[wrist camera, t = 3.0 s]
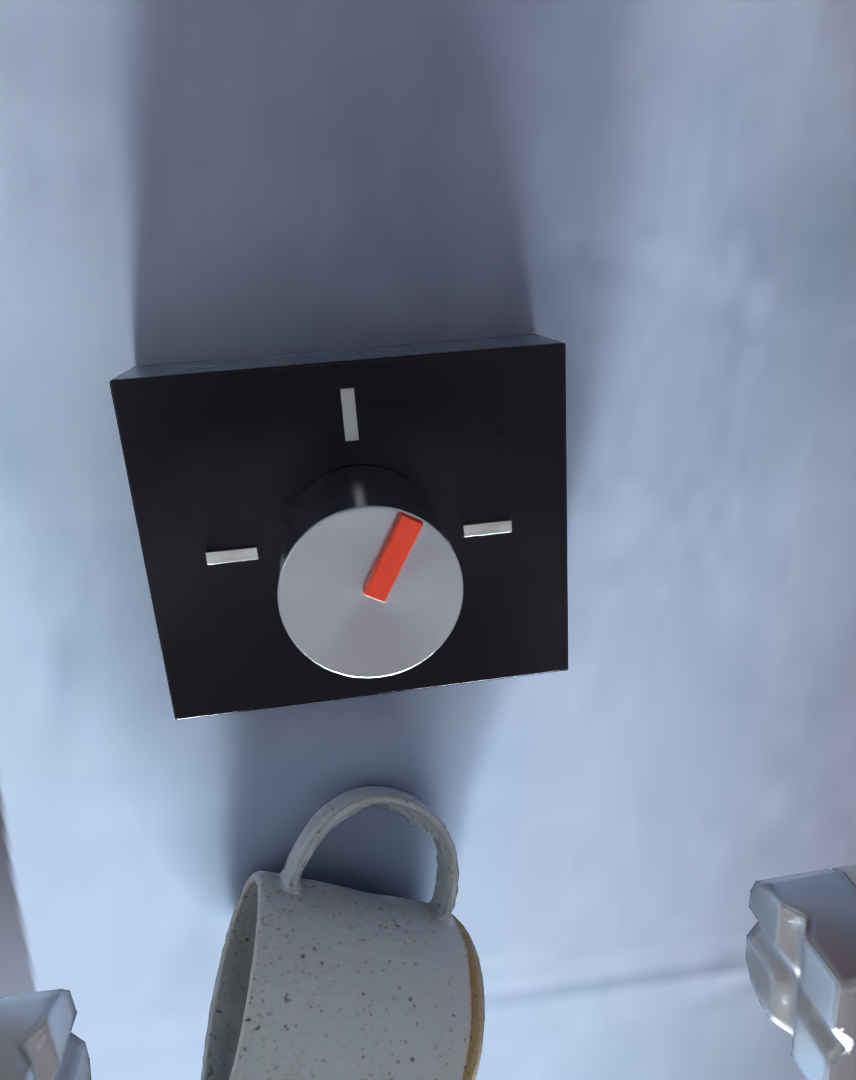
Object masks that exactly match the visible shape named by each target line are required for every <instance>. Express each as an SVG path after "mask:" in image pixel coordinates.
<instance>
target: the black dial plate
mask: <svg viewBox="0 0 856 1080" xmlns="http://www.w3.org/2000/svg"><path fill="white" fill-rule="evenodd" d="M110 388H111V394H112V399H113V404H114V409H115V414H116V419H117V424H118V429H119V435H120V440H121V445H122V450H123V455H124V460H125V465H126V470H127V475H128V481H129V486H130V491H131V496H132V501H133V506H134V511H135V516H136V522H137V527H138V532H139V537H140V542H141V547H142V552H143V557H144V563H145V568H146V573H147V578H148V583H149V588H150V593H151V598H152V603H153V609H154V614H155V619H156V624H157V629H158V634H159V639H160V644H161V650H162V655H163V660H164V665H165V670H166V675H167V680H168V685H169V691H170V696H171V701H172V706H173V711H174V716H175V719H176V720H181V719H189V718H196V717H204V716H212V715H220V714H228V713H236V712H243V711H251V710H259V709H267V708H275V707H283V706H291V705H298V704H306V703H314V702H322V701H330V700H338V699H345V698H353V697H361V696H369V695H377V694H385V693H392V692H400V691H408V690H416V689H424V688H432V687H439V686H447V685H455V684H463V683H471V682H479V681H487V680H494V679H502V678H510V677H518V676H526V675H534V674H541V673H549V672H557V671H565V670H568V588H567V466H566V345H565V343H562V342H559V341H556V340H553V339H550V338H546V337H543V336H540V335H537V334H529V335H517V336H504V337H492V338H480V339H467V340H455V341H443V342H430V343H418V344H405V345H393V346H381V347H368V348H356V349H344V350H331V351H319V352H307V353H294V354H282V355H269V356H257V357H245V358H232V359H220V360H208V361H195V362H183V363H171V364H158V365H146V366H135V367H133V368H131V369H129V370H128V371H126V372H124V373H123V374H121V375H119V376H117V377H116V378H114V379H112V380H111V381H110ZM362 465H366V466H376V467H381V468H385V469H388V470H391V471H393V472H396V473H398V474H400V475H402V476H404V477H405V478H407V479H408V480H410V481H411V482H412V483H414V484H415V485H416V486H417V487H418V488H419V489H420V490H421V491H422V493H423V494H424V495H425V496H426V497H427V499H428V501H429V502H430V504H431V506H432V508H433V510H434V512H435V514H436V516H437V518H438V520H439V522H440V524H441V526H442V528H443V530H444V532H445V534H446V536H447V538H448V540H449V542H450V544H451V546H452V548H453V550H454V552H455V554H456V556H457V558H458V561H459V563H460V567H461V571H462V576H463V584H464V590H463V601H462V607H461V611H460V614H459V617H458V620H457V622H456V624H455V626H454V628H453V630H452V631H451V633H450V635H449V636H448V638H447V639H446V640H445V642H444V643H443V644H442V645H441V646H440V647H439V648H438V649H437V650H436V651H435V652H434V653H433V654H432V655H431V656H430V657H428V658H427V659H426V660H424V661H423V662H421V663H420V664H418V665H416V666H414V667H413V668H410V669H408V670H406V671H403V672H401V673H397V674H394V675H390V676H385V677H379V678H356V677H350V676H345V675H341V674H338V673H335V672H332V671H330V670H328V669H325V668H323V667H321V666H320V665H318V664H316V663H315V662H313V661H312V660H311V659H309V658H308V657H307V656H306V655H304V654H303V653H302V652H301V651H300V650H299V649H298V648H297V647H296V645H295V644H294V642H293V641H292V640H291V638H290V637H289V635H288V633H287V631H286V630H285V628H284V625H283V622H282V620H281V617H280V613H279V608H278V598H277V591H278V579H279V569H280V559H281V550H282V540H283V530H284V526H285V521H286V518H287V516H288V513H289V511H290V509H291V507H292V505H293V503H294V502H295V500H296V499H297V498H298V496H299V495H300V494H301V493H302V492H303V490H304V489H305V488H306V487H307V486H309V485H310V484H311V483H312V482H314V481H315V480H316V479H318V478H320V477H321V476H323V475H325V474H327V473H329V472H332V471H334V470H337V469H341V468H344V467H350V466H362Z"/></svg>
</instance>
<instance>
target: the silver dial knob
mask: <svg viewBox="0 0 856 1080" xmlns="http://www.w3.org/2000/svg"><path fill="white" fill-rule="evenodd" d="M463 590H464V584H463V576H462V571H461V567H460V563H459V561H458V558H457V556H456V554H455V552H454V550H453V548H452V546H451V544H450V542H449V540H448V538H447V536H446V534H445V532H444V530H443V528H442V526H441V524H440V522H439V520H438V518H437V516H436V514H435V512H434V510H433V508H432V506H431V504H430V502H429V501H428V499H427V497H426V496H425V495H424V494H423V493H422V491H421V490H420V489H419V488H418V487H417V486H416V485H415V484H414V483H412V482H411V481H410V480H408V479H407V478H405V477H404V476H402V475H400V474H398V473H396V472H393V471H391V470H388V469H385V468H381V467H376V466H366V465H362V466H350V467H344V468H341V469H337V470H334V471H332V472H329V473H327V474H325V475H323V476H321V477H320V478H318V479H316V480H315V481H314V482H312V483H311V484H310V485H309V486H307V487H306V488H305V489H304V490H303V492H302V493H301V494H300V495H299V496H298V498H297V499H296V500H295V502H294V503H293V505H292V507H291V509H290V511H289V513H288V516H287V518H286V521H285V526H284V530H283V540H282V550H281V559H280V569H279V579H278V591H277V598H278V608H279V613H280V617H281V620H282V622H283V625H284V628H285V630H286V631H287V633H288V635H289V637H290V638H291V640H292V641H293V642H294V644H295V645H296V647H297V648H298V649H299V650H300V651H301V652H302V653H303V654H304V655H306V656H307V657H308V658H309V659H311V660H312V661H313V662H315V663H316V664H318V665H320V666H321V667H323V668H325V669H328V670H330V671H332V672H335V673H338V674H341V675H345V676H350V677H356V678H379V677H385V676H390V675H394V674H397V673H401V672H403V671H406V670H408V669H410V668H413V667H414V666H416V665H418V664H420V663H421V662H423V661H424V660H426V659H427V658H428V657H430V656H431V655H432V654H433V653H434V652H435V651H436V650H437V649H438V648H439V647H440V646H441V645H442V644H443V643H444V642H445V640H446V639H447V638H448V636H449V635H450V633H451V631H452V630H453V628H454V626H455V624H456V622H457V620H458V617H459V614H460V611H461V607H462V601H463Z"/></svg>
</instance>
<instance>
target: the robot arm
mask: <svg viewBox="0 0 856 1080" xmlns="http://www.w3.org/2000/svg"><path fill="white" fill-rule="evenodd" d="M749 907H750V909H751V910H752V912H753V914H754V915H755V917H756V918H757V920H758V922H757V923H756V925H755V926H754V927H753V928H752V930H751V931H750V932H749V933H748V935H747V941H746V961H747V965H748V970H749V974H750V979H751V983H752V985H753V987H754V990H755V992H756V995H757V997H758V999H759V1002H760V1003H761V1005H762V1007H763V1008H764V1010H765V1012H766V1014H767V1015H768V1017H769V1019H770V1020H771V1021H772V1022H774V1023H775V1024H777V1025H779V1026H780V1027H782V1028H783V1029H785V1030H786V1031H788V1032H789V1033H791V1034H792V1035H793V1042H792V1052H791V1056H792V1057H793V1059H794V1060H795V1062H796V1064H797V1065H798V1067H799V1069H800V1070H801V1072H802V1074H803V1075H804V1077H805V1079H806V1080H856V865H850V866H844V867H838V868H834V869H832V870H830V869H826V870H820V871H814V872H808V873H802V874H796V875H790V876H784V877H778V878H772V879H766V880H760V881H756V882H755V884H754V885H753V887H752V889H751V893H750V903H749ZM76 1014H77V1011H76V1008H75V1005H74V1002H73V999H72V996H71V993H70V991H69V990H64V989H57V990H49V991H41V992H34V993H26V994H19V995H10V996H2V997H0V1080H91V1071H90V1059H89V1055H88V1051H87V1047H86V1043H85V1042H84V1041H83V1040H81V1039H80V1038H79V1037H77V1036H76V1035H74V1034H73V1033H71V1030H72V1027H73V1023H74V1020H75V1017H76Z"/></svg>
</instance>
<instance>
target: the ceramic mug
mask: <svg viewBox="0 0 856 1080" xmlns="http://www.w3.org/2000/svg"><path fill="white" fill-rule="evenodd" d="M371 805H375V806H378V807H381V808H384V809H387V810H391V811H394V812H396V813H398V814H400V815H402V816H403V817H405V818H406V819H407V820H408V822H409V823H410V825H411V826H419V827H422V828H424V829H425V830H426V831H427V832H428V833H429V834H430V835H431V836H432V837H433V839H434V842H435V844H436V846H437V863H438V867H437V876H436V885H435V890H434V895H433V898H432V900H431V901H430V902H429V903H425V902H421V901H414V900H409V899H404V898H400V897H396V896H388V895H380V894H374V893H367V892H362V891H358V890H354V889H351V888H347V887H342V886H338V885H334V884H330V883H324V882H319V881H316V880H310V879H304V878H301V875H302V873H303V870H304V868H305V866H306V865H307V864H308V862H309V861H310V858H311V856H312V855H313V853H314V852H315V850H316V849H317V847H318V846H319V844H320V843H321V841H322V840H323V838H324V837H325V836H326V835H327V834H328V832H329V831H330V830H331V829H333V828H334V827H335V826H337V825H338V824H339V823H341V822H342V821H343V820H345V819H346V818H347V817H351V816H353V815H354V814H355V813H357V812H358V811H359V810H360V809H363V808H367V807H369V806H371ZM458 878H459V869H458V861H457V853H456V849H455V845H454V843H453V841H452V839H451V836H450V834H449V832H448V830H447V828H446V826H445V825H444V823H443V822H442V821H441V820H440V819H439V817H438V816H437V815H436V814H435V813H434V812H433V811H432V810H431V809H429V808H428V807H427V806H426V805H425V804H424V803H422V802H421V801H420V800H419V799H418V798H416V797H414V796H412V795H410V794H408V793H406V792H403V791H400V790H397V789H394V788H390V787H382V786H364V787H359V788H353V789H350V790H348V791H346V792H343V793H342V794H340V795H338V796H337V797H335V798H334V799H332V800H330V801H329V802H327V803H326V804H325V805H323V806H322V807H321V808H320V809H319V810H318V811H317V812H316V813H315V814H314V815H313V817H312V818H311V819H310V820H309V822H308V823H307V824H306V826H305V828H304V829H303V831H302V832H301V834H300V835H299V837H298V839H297V841H296V842H295V844H294V846H293V848H292V850H291V852H290V854H289V856H288V858H287V861H286V864H285V867H284V869H283V870H282V871H281V873H274V872H268V871H257V872H254V873H253V874H252V875H251V876H250V877H249V878H248V880H247V881H246V883H245V885H244V887H243V890H242V893H241V895H240V898H239V900H238V902H237V904H236V906H235V909H234V912H233V916H232V919H231V922H230V926H229V929H228V932H227V934H226V939H225V944H224V947H223V950H222V955H221V960H220V965H219V968H218V972H217V976H216V981H215V986H214V992H213V996H212V1001H211V1005H210V1010H209V1019H208V1028H207V1033H206V1037H205V1049H204V1056H203V1066H202V1073H201V1080H476V1076H477V1072H478V1067H479V1062H480V1058H481V1053H482V1043H483V1032H484V1020H485V1011H484V987H483V977H482V972H481V967H480V962H479V958H478V955H477V952H476V949H475V946H474V944H473V942H472V940H471V938H470V935H469V933H468V932H467V930H466V929H465V927H464V926H463V925H462V924H461V923H460V922H459V920H458V919H457V918H456V917H455V916H454V915H452V914H451V912H452V910H453V908H454V906H455V900H456V896H457V893H458Z"/></svg>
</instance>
